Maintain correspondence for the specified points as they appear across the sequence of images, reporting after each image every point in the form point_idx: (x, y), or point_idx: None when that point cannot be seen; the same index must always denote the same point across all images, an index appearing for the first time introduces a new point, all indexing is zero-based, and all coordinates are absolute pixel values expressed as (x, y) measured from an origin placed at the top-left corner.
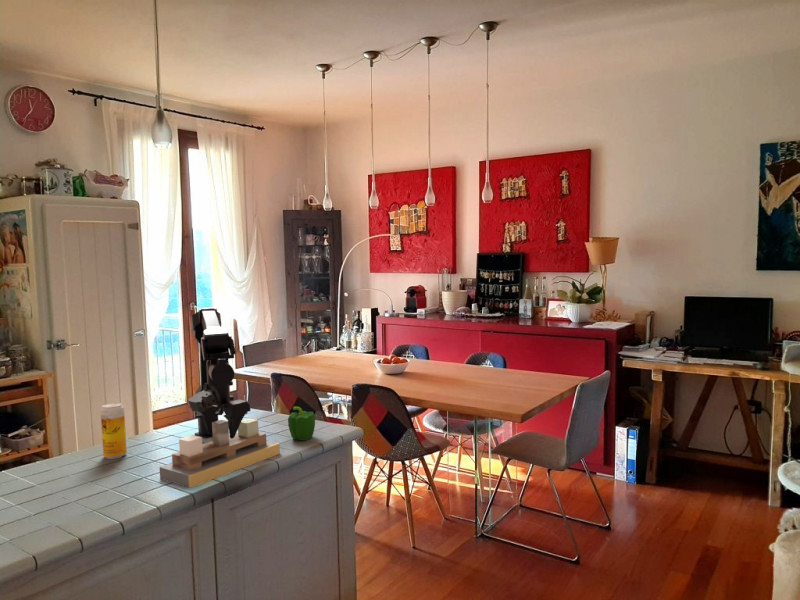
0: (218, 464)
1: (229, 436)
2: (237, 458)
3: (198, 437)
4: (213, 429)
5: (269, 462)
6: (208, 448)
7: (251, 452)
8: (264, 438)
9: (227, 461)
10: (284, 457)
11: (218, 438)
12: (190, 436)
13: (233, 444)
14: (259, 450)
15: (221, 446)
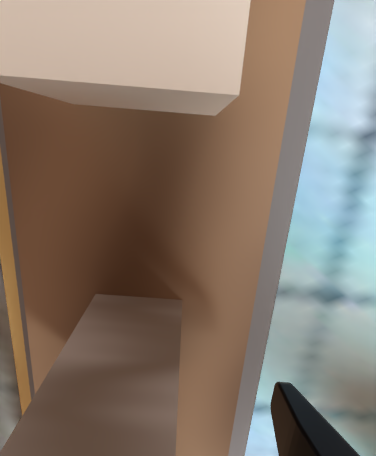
0: (4, 150)
1: (212, 446)
2: (6, 277)
3: (2, 29)
4: (153, 406)
5: (3, 366)
6: (124, 209)
7: (30, 370)
8: None
9: (7, 215)
10: (3, 423)
11: (96, 331)
12: (196, 2)
13: (36, 350)
14: (22, 403)
15: (74, 287)
